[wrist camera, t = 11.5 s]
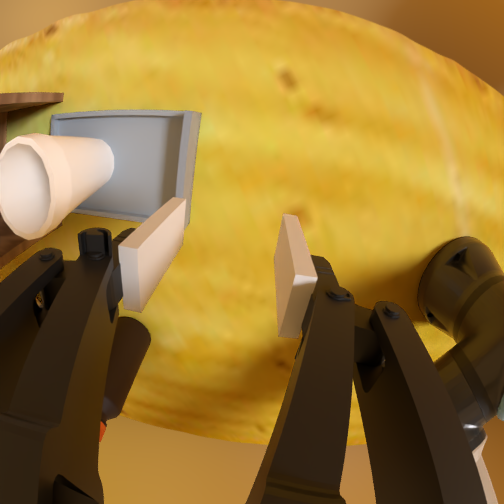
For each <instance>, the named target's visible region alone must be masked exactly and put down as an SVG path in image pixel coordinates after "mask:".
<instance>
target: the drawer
mask: <svg viewBox="0 0 504 504" xmlns="http://www.w3.org/2000/svg"><path fill="white" fill-rule="evenodd" d="M200 120H201V113H199V112H194V111H169V110H105V111H87V112H75V113H64V114H55V115H52V119H51V135H53V136H74V137H89V138H96V139H101V140H103V141H104V142H105V143H107V144H108V145H109V146H110V148H111V151H112V153H113V155H114V170H113V173H112V175H111V178H110V179H109V180H108V181H107V182H106V183H105V184H104V185H103V186H102V187H101V188H100V189H98V190H97V191H96V192H95V193H93V194H92V195H91V196H90V197H88V198H87V199H86V200H85V201H83V202H82V203H81V204H80V205H79V206H77V207H76V208H75V209H74V210H73V211H71V213H79V214H86V215H93V216H101V217H108V218H115V219H122V220H129V221H136V222H145V221H146V220H147V219H148V218H149V217H150V216H151V215H153V214H154V213H155V212H156V211H157V210H158V209H160V208H161V207H162V206H163V205H164V204H165V203H167V202H168V201H169V200H170V199H171V198H173V197H176V198H184V199H186V207H185V221H184V230H185V228H186V227H187V225H188V224H189V221H190V209H191V197H192V187H193V177H194V168H195V159H196V150H197V142H198V134H199V127H200Z"/></svg>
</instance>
